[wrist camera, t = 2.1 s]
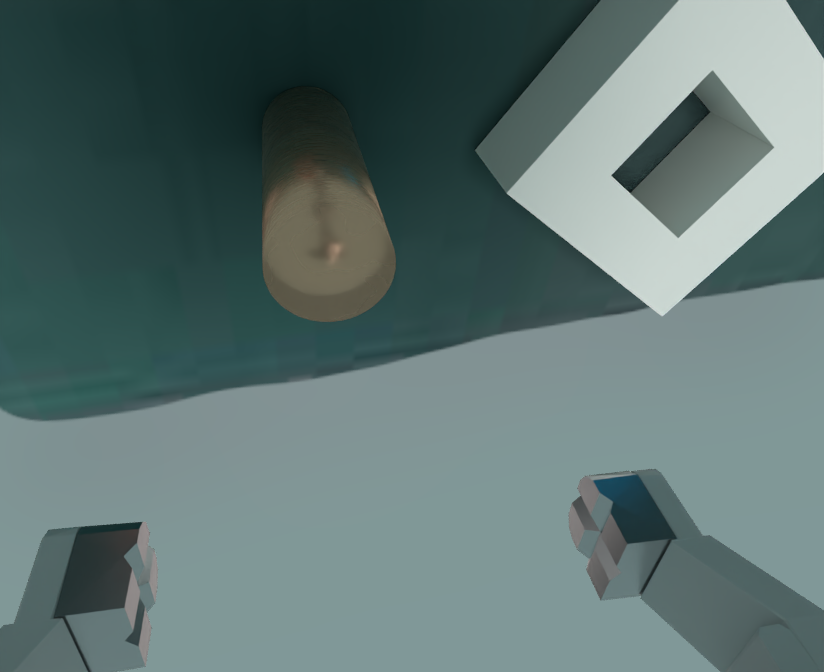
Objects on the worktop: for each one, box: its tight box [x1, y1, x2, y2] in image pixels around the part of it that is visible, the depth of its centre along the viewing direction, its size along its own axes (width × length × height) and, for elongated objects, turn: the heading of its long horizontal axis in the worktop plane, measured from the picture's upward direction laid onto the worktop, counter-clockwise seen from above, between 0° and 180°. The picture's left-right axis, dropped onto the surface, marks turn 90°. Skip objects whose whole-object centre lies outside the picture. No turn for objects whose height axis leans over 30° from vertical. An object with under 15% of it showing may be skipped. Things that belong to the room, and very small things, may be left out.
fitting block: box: [475, 0, 824, 316], centre depth 29 cm, size 12×12×5 cm
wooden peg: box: [262, 86, 396, 322], centre depth 23 cm, size 4×4×12 cm
